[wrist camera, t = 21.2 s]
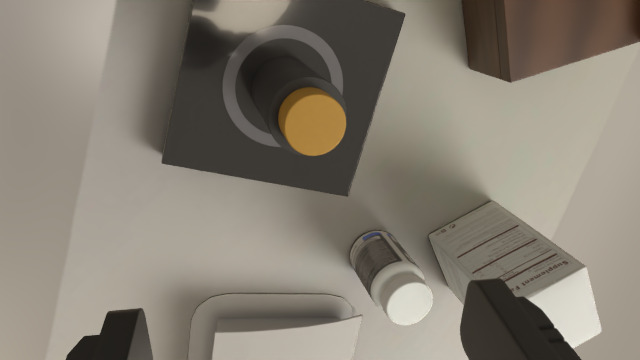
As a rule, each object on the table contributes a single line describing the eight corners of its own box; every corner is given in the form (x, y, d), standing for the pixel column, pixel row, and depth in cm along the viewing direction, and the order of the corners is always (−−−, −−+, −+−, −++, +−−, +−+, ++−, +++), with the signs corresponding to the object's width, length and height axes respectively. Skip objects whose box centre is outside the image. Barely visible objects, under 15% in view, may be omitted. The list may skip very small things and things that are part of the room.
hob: (201, -50, 35) (202, -51, 33) (395, 11, 40) (406, 13, 38) (162, 155, 39) (161, 164, 37) (341, 187, 44) (348, 197, 42)
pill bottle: (344, 273, 47) (374, 329, 40) (355, 227, 46) (389, 277, 38) (390, 275, 49) (428, 330, 41) (403, 231, 47) (445, 280, 40)
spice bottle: (237, 82, 37) (255, 118, 28) (291, 42, 37) (327, 65, 28) (276, 133, 39) (304, 182, 30) (327, 96, 39) (371, 133, 30)
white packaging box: (511, 255, 52) (605, 334, 40) (447, 289, 51) (523, 379, 40) (494, 196, 48) (590, 264, 37) (425, 232, 48) (501, 313, 37)
